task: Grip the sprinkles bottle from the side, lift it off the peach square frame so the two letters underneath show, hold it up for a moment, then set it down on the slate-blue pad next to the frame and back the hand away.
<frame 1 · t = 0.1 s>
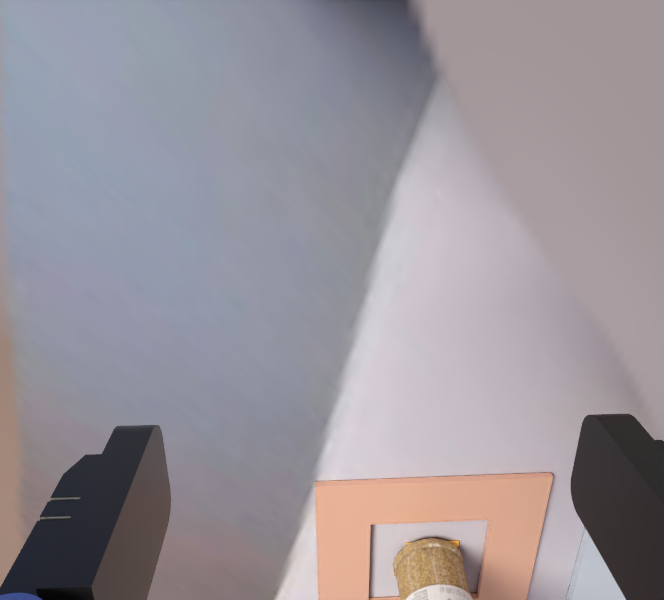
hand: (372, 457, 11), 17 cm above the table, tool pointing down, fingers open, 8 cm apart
peach square frame: (426, 558, 38), on the table
sprinkles bottle: (425, 556, 38), on the table, touching peach square frame
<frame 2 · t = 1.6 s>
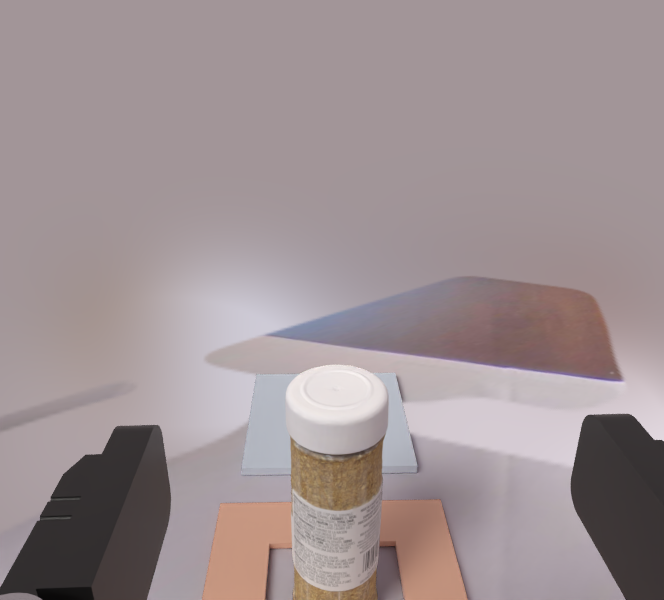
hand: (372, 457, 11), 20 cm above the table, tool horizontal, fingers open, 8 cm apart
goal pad: (327, 421, 46), on the table
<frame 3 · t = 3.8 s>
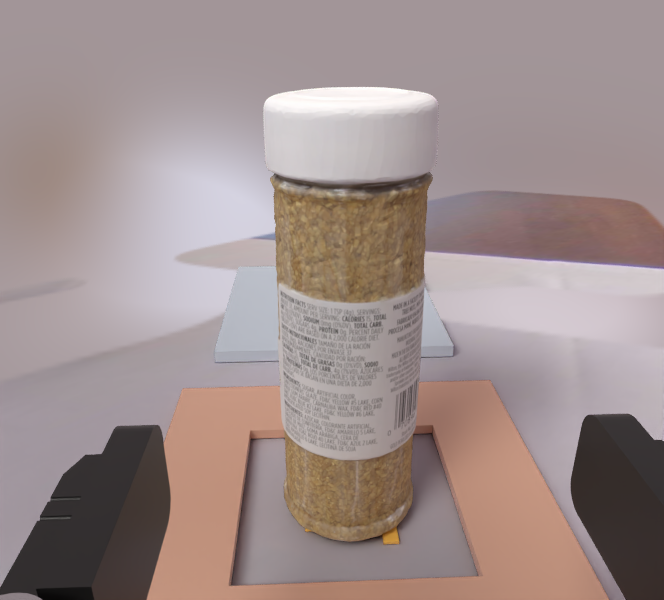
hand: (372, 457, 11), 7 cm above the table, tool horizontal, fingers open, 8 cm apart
peach square frame: (348, 500, 21), on the table
sprinkles bottle: (348, 502, 21), on the table, touching peach square frame
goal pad: (330, 309, 35), on the table
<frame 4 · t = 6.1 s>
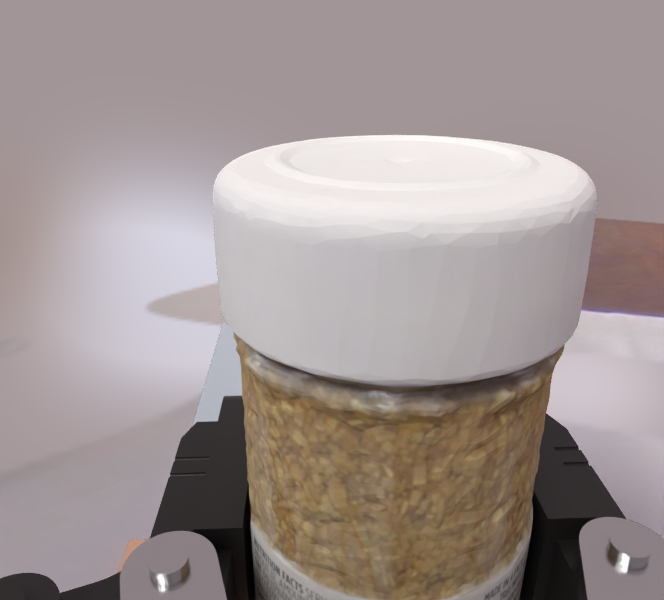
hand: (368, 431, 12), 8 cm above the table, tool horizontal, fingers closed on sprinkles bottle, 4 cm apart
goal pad: (337, 390, 27), on the table
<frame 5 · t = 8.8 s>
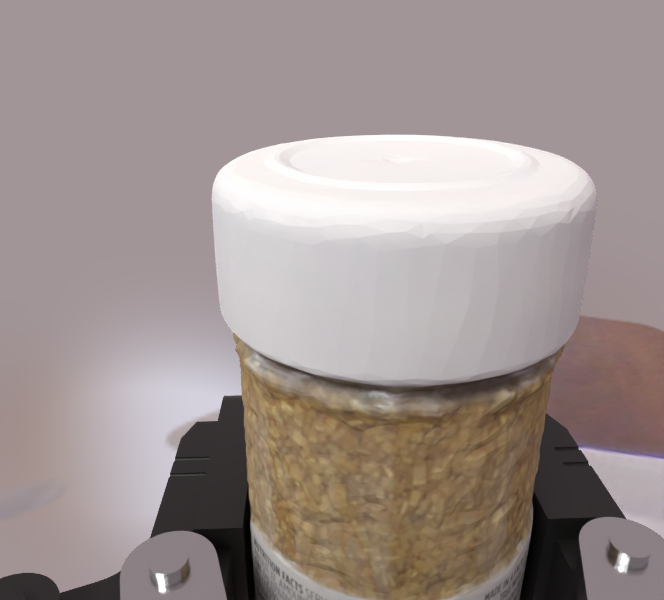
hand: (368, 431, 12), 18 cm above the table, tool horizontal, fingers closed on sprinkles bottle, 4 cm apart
when the fingers open (9 cm above the table, at t = 12.0 s): sprinkles bottle drops 1 cm, resting on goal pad.
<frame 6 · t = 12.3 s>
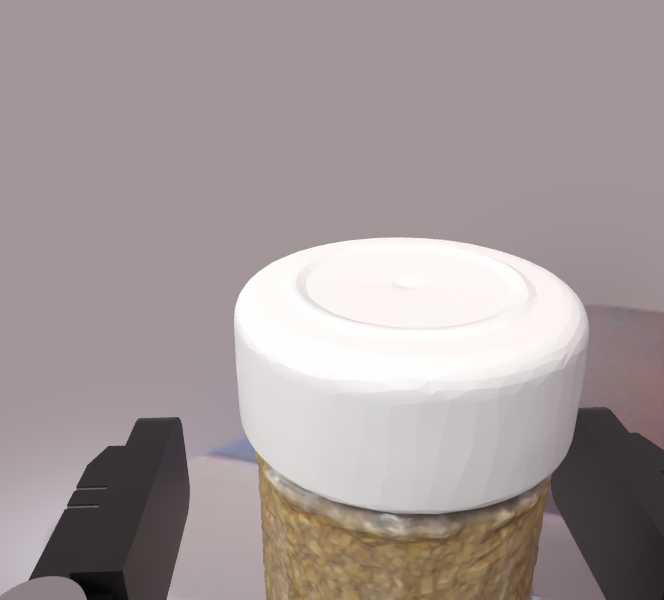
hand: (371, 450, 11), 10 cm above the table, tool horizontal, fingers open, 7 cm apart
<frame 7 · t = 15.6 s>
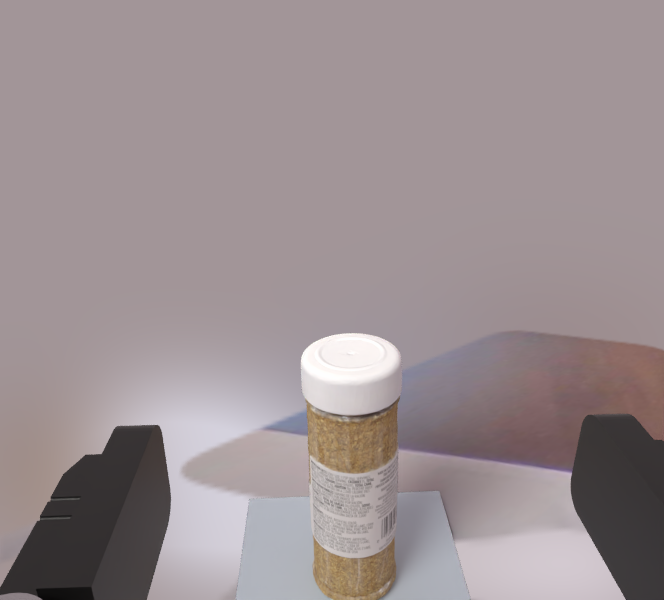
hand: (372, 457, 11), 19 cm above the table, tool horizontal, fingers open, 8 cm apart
sprinkles bottle: (354, 576, 32), resting on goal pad
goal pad: (350, 580, 32), on the table
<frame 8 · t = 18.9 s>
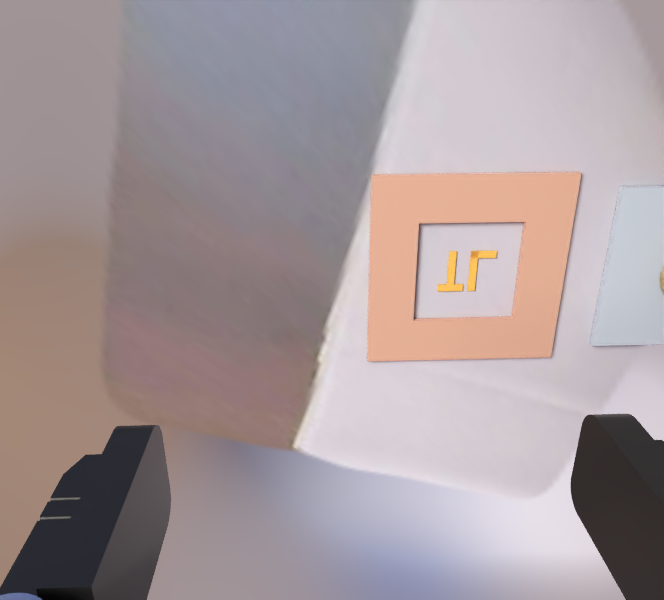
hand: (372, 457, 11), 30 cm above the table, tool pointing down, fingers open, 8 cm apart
peach square frame: (466, 271, 42), on the table
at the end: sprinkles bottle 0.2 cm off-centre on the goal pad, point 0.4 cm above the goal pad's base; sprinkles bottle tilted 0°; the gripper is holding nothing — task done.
